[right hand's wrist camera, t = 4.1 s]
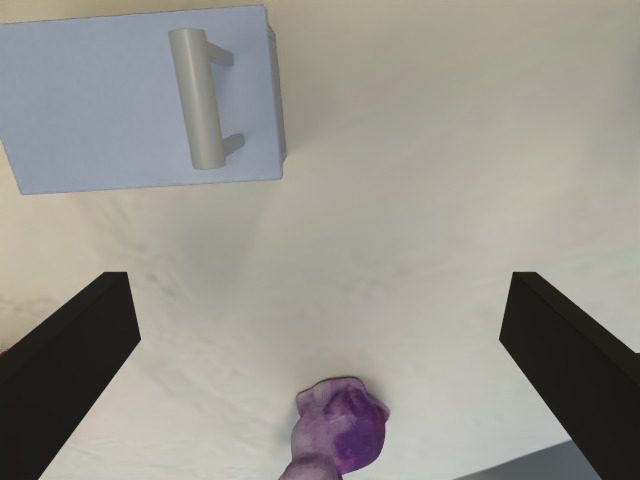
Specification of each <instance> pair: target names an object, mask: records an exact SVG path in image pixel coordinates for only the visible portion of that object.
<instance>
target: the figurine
mask: <svg viewBox="0 0 640 480" xmlns="http://www.w3.org/2000/svg"><path fill="white" fill-rule="evenodd" d="M296 403H297V406H298V411H299V415H300V417H301V418H300V419H299V421H298V422H297V424H296V425H295V426H294V428H293V431H292V434H291V452H292V462H291V463H290V464H289V465H288V466H287V468H286V470H285V472H284V473H283V474H282V475H281V476H280V477H279V479H278V480H343V478H342V476H341V475H344V474H346V473H349V472H352V471H356V470H358V469H361V468H363V467H365V466H367V465H369V464H371V463H372V462H373V461H375V460H376V459H377V458H378V456H379V454H380V453H381V450H382V448H383V444H384V440H385V423H386V421H387V420H388V419H389V417H390V410H389V408H388V407H387V406H386V405H385V404H383V403H382V402H380V401H378V400H376V399H374V398H373V397H371V396H370V395H369V394H368V393H367V392H366V389H365V386H364V384H363V383H362V382H361V381H360V380H357V379H354V378H351V377H347V378H341V379H333V380H328V381H324V382H320V383H319V384H317V385H316V386H314V387H313V388H312V389H310V390H308V391H305V392H302V393H300V394H299V395H298V396H297V398H296Z"/></svg>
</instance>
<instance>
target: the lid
mask: <svg viewBox="0 0 640 480" xmlns="http://www.w3.org/2000/svg"><path fill="white" fill-rule="evenodd" d="M0 138H1V141H2V144H3V146H4V149H5V152H6V155H7V157H8V160H9V163H10V166H11V168H12V171H13V174H14V177H15V179H16V182H17V185H18V188H19V190H20V193H21V195H33V194H49V193H65V192H81V191H98V190H114V189H130V188H146V187H162V186H178V185H194V184H210V183H226V182H242V181H258V180H274V179H282V177H283V167H282V157H281V147H280V137H279V127H278V117H277V107H276V97H275V87H274V77H273V67H272V57H271V47H270V37H269V27H268V17H267V9H266V7H265V6H264V5H263V4H262V5H249V6H235V7H222V8H208V9H195V10H181V11H168V12H154V13H141V14H127V15H114V16H100V17H87V18H73V19H60V20H46V21H33V22H19V23H6V24H0Z"/></svg>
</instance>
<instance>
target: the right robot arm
mask: <svg viewBox="0 0 640 480" xmlns="http://www.w3.org/2000/svg"><path fill="white" fill-rule="evenodd" d="M140 340H141V337H140V332H139V327H138V322H137V318H136V313H135V308H134V303H133V299H132V294H131V289H130V284H129V280H128V275H127V272H104V273H102V274H101V275H100V276H99V277H97V278H96V279H95V280H94V281H93V282H91V283H90V284H89V285H88V286H86V287H85V288H84V289H83V290H81V291H80V292H79V293H78V294H77V295H75V296H74V297H73V298H72V299H70V300H69V301H68V302H67V303H65V304H64V305H63V306H62V307H61V308H59V309H58V310H57V311H56V312H54V313H53V314H52V315H51V316H49V317H48V318H47V319H46V320H45V321H43V322H42V323H41V324H40V325H38V326H37V327H36V328H35V329H34V330H32V331H31V332H30V333H29V334H27V335H26V336H25V337H24V338H22V339H21V340H20V341H19V342H18V343H16V344H15V345H14V346H13V347H11V348H10V349H9V350H8V351H6V352H5V353H4V354H0V480H38V479H39V478H40V476H41V475H42V474H43V472H44V471H45V469H46V468H47V467H48V465H49V464H50V463H51V461H52V460H53V459H54V457H55V456H56V455H57V453H58V452H59V450H60V449H61V448H62V446H63V445H64V444H65V442H66V441H67V440H68V438H69V437H70V436H71V434H72V433H73V431H74V430H75V429H76V427H77V426H78V425H79V423H80V422H81V421H82V419H83V418H84V417H85V415H86V414H87V412H88V411H89V410H90V408H91V407H92V406H93V404H94V403H95V402H96V400H97V399H98V397H99V396H100V395H101V393H102V392H103V391H104V389H105V388H106V387H107V385H108V384H109V383H110V381H111V380H112V378H113V377H114V376H115V374H116V373H117V372H118V370H119V369H120V368H121V366H122V365H123V364H124V362H125V361H126V359H127V358H128V357H129V355H130V354H131V353H132V351H133V350H134V349H135V347H136V346H137V345H138V343H139V342H140ZM499 340H500V342H501V343H502V345H503V346H504V347H505V349H506V350H507V351H508V353H509V354H510V355H511V357H512V358H513V359H514V361H515V362H516V364H517V365H518V366H519V368H520V369H521V370H522V372H523V373H524V374H525V376H526V377H527V378H528V380H529V381H530V383H531V384H532V385H533V387H534V388H535V389H536V391H537V392H538V393H539V395H540V396H541V397H542V399H543V400H544V402H545V403H546V404H547V406H548V407H549V408H550V410H551V411H552V412H553V414H554V415H555V417H556V418H557V419H558V421H559V422H560V423H561V425H562V426H563V427H564V429H565V430H566V431H567V433H568V434H569V436H570V437H571V438H572V440H573V441H574V442H575V444H576V445H577V446H578V448H579V449H580V450H581V452H582V453H583V455H584V456H585V457H586V459H587V460H588V461H589V463H590V464H591V465H592V467H593V468H594V469H595V471H596V472H597V474H598V475H599V476H600V478H601V479H602V480H640V353H635V352H634V351H632V350H631V349H630V348H629V347H627V346H626V345H625V344H624V343H622V342H621V341H620V340H619V339H618V338H616V337H615V336H614V335H613V334H611V333H610V332H609V331H608V330H606V329H605V328H604V327H603V326H602V325H600V324H599V323H598V322H597V321H595V320H594V319H593V318H592V317H591V316H589V315H588V314H587V313H586V312H584V311H583V310H582V309H581V308H579V307H578V306H577V305H576V304H575V303H573V302H572V301H571V300H570V299H568V298H567V297H566V296H565V295H563V294H562V293H561V292H560V291H559V290H557V289H556V288H555V287H554V286H552V285H551V284H550V283H549V282H547V281H546V280H545V279H544V278H543V277H541V276H540V275H539V274H538V273H536V272H513V275H512V280H511V284H510V289H509V294H508V299H507V303H506V308H505V313H504V318H503V322H502V327H501V332H500V337H499Z"/></svg>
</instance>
